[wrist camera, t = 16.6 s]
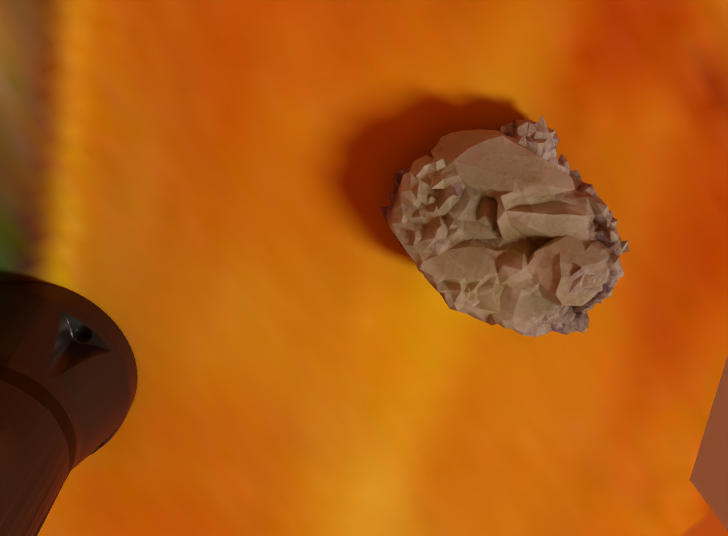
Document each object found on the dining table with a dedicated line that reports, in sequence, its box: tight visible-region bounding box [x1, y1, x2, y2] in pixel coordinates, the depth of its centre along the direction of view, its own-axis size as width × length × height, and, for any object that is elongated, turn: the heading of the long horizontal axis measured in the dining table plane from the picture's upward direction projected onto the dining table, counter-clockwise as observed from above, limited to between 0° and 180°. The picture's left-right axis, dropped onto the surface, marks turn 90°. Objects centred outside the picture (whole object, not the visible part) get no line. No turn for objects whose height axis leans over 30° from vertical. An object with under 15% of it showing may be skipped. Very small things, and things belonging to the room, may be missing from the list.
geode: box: [380, 116, 630, 337], centre depth 45 cm, size 17×9×15 cm
